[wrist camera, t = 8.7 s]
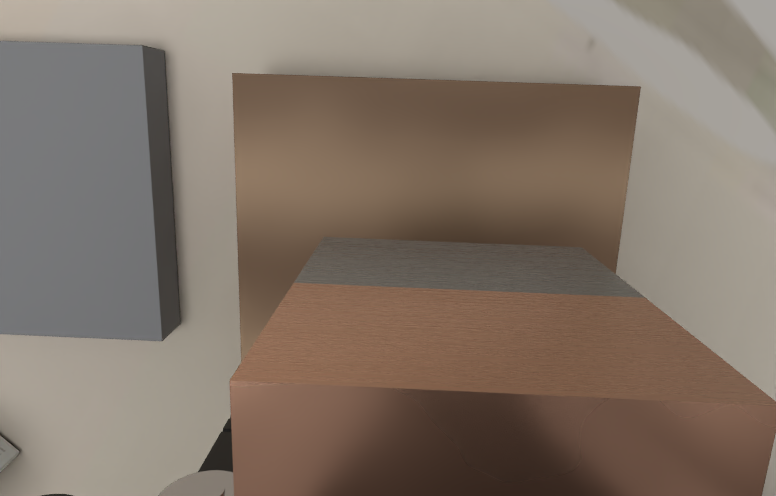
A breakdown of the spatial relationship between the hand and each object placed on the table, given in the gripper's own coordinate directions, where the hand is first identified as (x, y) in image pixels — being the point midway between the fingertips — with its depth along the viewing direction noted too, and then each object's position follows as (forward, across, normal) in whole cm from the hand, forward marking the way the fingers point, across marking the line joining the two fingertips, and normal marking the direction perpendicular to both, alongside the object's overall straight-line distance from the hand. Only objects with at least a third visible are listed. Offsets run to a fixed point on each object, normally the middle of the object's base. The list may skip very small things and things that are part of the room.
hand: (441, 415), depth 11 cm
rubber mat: (+14, +17, -2) cm, 22 cm away
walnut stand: (+14, 0, 0) cm, 14 cm away
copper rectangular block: (0, 0, 0) cm, 0 cm away
